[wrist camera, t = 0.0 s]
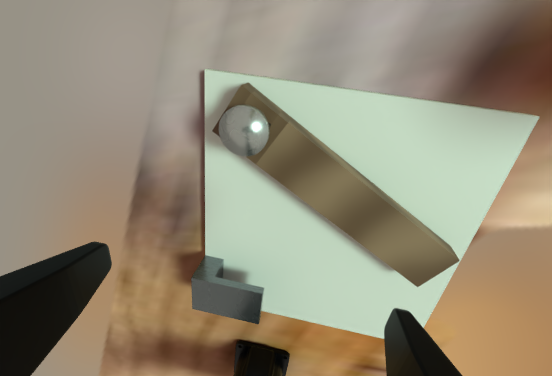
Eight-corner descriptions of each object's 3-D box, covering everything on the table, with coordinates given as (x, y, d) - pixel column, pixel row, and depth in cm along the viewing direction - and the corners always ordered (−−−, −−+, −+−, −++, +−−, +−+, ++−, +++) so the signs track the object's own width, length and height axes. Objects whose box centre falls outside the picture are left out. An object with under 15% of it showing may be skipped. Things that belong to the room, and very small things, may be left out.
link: (221, 125, 21) (211, 130, 19) (248, 82, 19) (240, 84, 17) (411, 271, 23) (417, 287, 22) (450, 245, 22) (460, 260, 20)
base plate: (411, 338, 28) (424, 382, 24) (208, 292, 30) (191, 326, 27) (531, 114, 18) (586, 130, 14) (208, 68, 20) (180, 72, 16)
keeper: (265, 298, 28) (258, 324, 25) (205, 284, 29) (192, 308, 26) (269, 268, 26) (262, 293, 24) (205, 255, 27) (191, 277, 24)
